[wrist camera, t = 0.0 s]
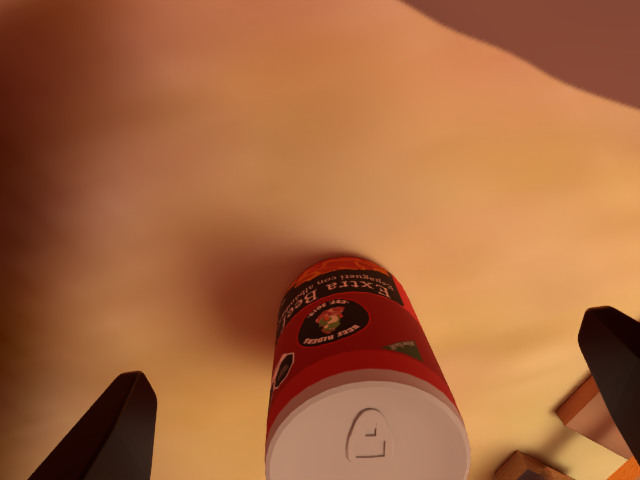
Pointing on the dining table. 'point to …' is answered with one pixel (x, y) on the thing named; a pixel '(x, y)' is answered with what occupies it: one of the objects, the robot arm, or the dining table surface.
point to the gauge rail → (533, 476)
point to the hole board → (593, 419)
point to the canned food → (358, 384)
